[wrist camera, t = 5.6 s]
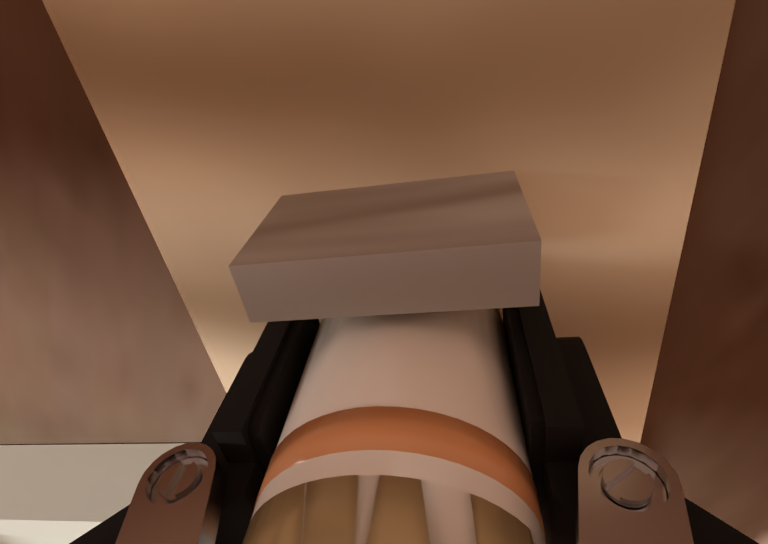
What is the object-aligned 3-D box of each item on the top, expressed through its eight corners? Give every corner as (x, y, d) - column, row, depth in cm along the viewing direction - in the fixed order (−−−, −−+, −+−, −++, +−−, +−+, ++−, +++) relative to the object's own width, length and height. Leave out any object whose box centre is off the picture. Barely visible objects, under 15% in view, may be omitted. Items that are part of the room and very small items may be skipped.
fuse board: (22, -129, 8) (-265, -207, 5) (766, -325, 6) (1151, -694, 3) (297, 505, 19) (266, 620, 15) (610, 510, 17) (653, 644, 13)
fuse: (309, 252, 11) (152, 574, 5) (500, 235, 10) (587, 592, 4) (345, 385, 13) (268, 714, 7) (503, 380, 12) (562, 742, 6)
